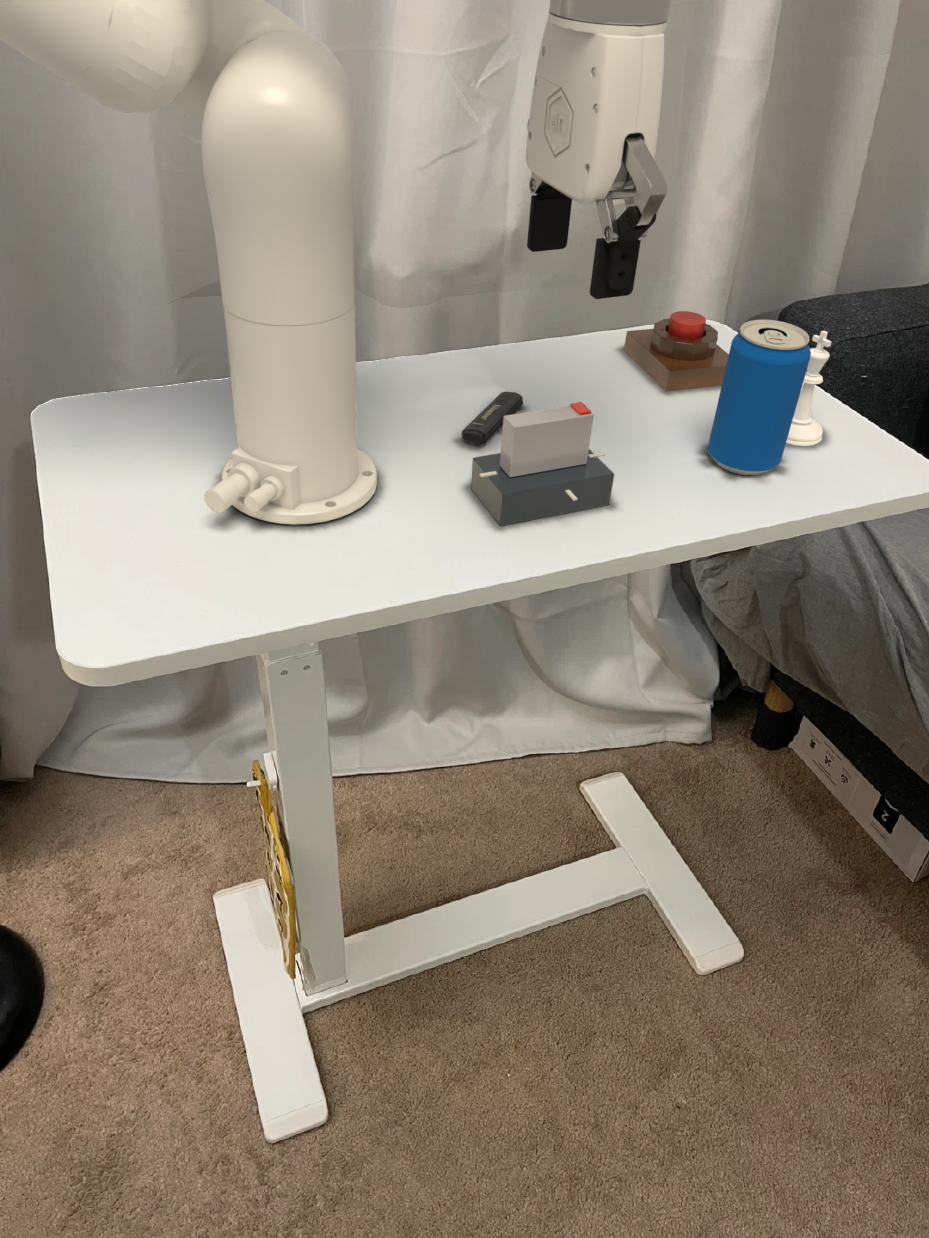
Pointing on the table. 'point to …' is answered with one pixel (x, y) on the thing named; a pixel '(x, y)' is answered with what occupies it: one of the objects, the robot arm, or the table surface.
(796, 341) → the beverage can
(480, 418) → the usb stick
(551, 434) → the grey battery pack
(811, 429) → the chess piece
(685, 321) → the button
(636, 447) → the table surface
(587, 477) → the dark grey marked platform
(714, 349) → the button block
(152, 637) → the table surface
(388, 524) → the table surface
